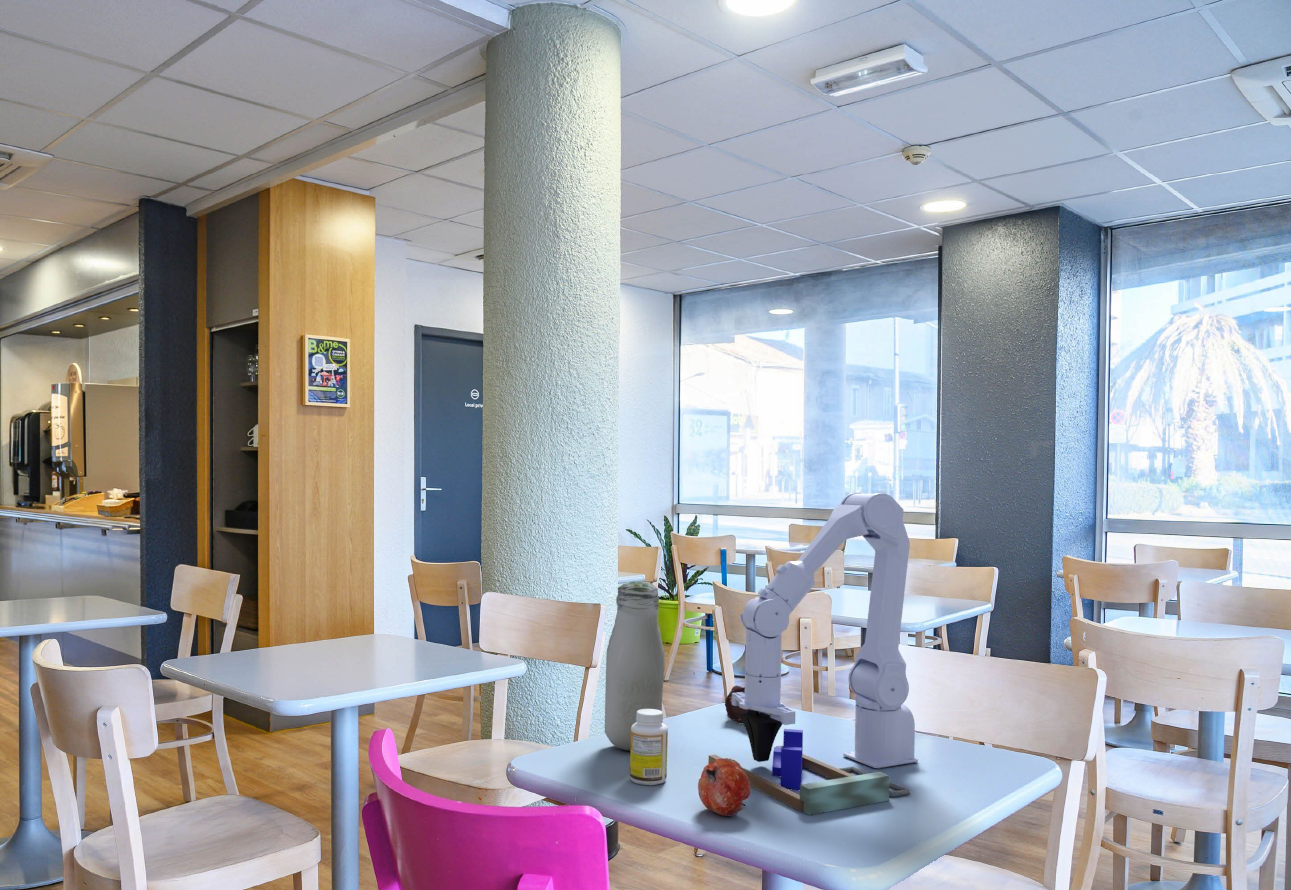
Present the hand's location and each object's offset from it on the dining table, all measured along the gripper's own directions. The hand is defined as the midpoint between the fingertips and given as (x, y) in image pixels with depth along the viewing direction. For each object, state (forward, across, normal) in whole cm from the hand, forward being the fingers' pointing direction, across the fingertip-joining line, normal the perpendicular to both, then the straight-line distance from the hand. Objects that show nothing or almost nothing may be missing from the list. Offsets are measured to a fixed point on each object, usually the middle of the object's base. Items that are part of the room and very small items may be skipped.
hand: (761, 760), depth 146 cm
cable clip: (+1, +6, 0) cm, 6 cm away
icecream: (+1, -25, +14) cm, 28 cm away
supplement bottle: (+1, -1, -20) cm, 20 cm away
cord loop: (+1, +14, +10) cm, 17 cm away
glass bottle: (+1, -17, -14) cm, 22 cm away
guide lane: (+1, +8, 0) cm, 8 cm away
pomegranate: (+1, +15, -17) cm, 23 cm away
